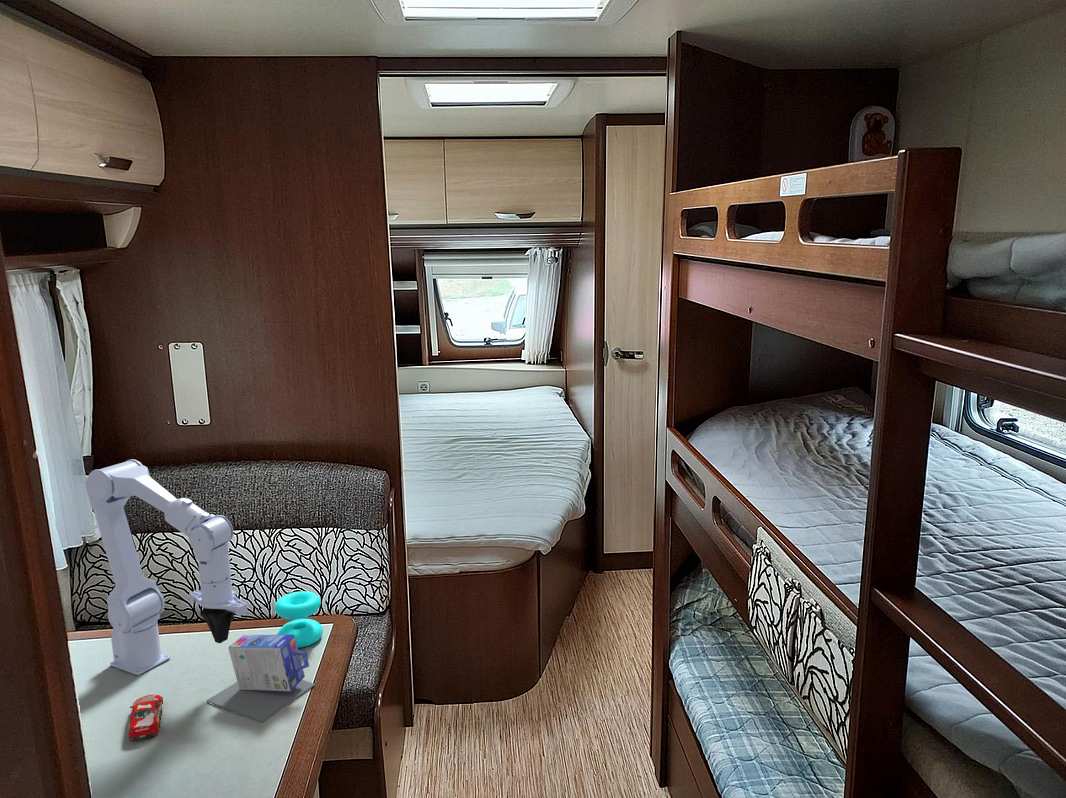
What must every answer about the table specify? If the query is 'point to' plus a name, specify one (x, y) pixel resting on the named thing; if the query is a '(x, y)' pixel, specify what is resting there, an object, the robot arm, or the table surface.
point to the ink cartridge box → (267, 662)
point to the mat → (257, 700)
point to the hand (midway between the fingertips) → (221, 640)
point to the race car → (145, 717)
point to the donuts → (300, 617)
